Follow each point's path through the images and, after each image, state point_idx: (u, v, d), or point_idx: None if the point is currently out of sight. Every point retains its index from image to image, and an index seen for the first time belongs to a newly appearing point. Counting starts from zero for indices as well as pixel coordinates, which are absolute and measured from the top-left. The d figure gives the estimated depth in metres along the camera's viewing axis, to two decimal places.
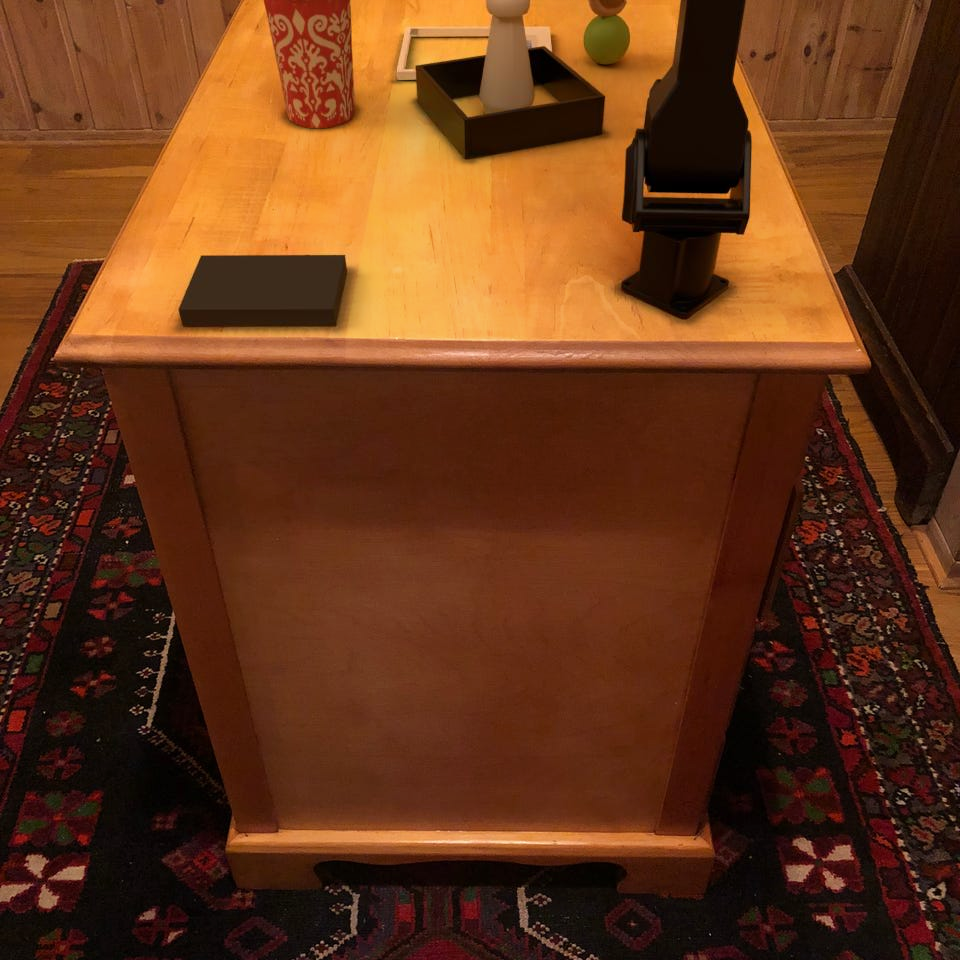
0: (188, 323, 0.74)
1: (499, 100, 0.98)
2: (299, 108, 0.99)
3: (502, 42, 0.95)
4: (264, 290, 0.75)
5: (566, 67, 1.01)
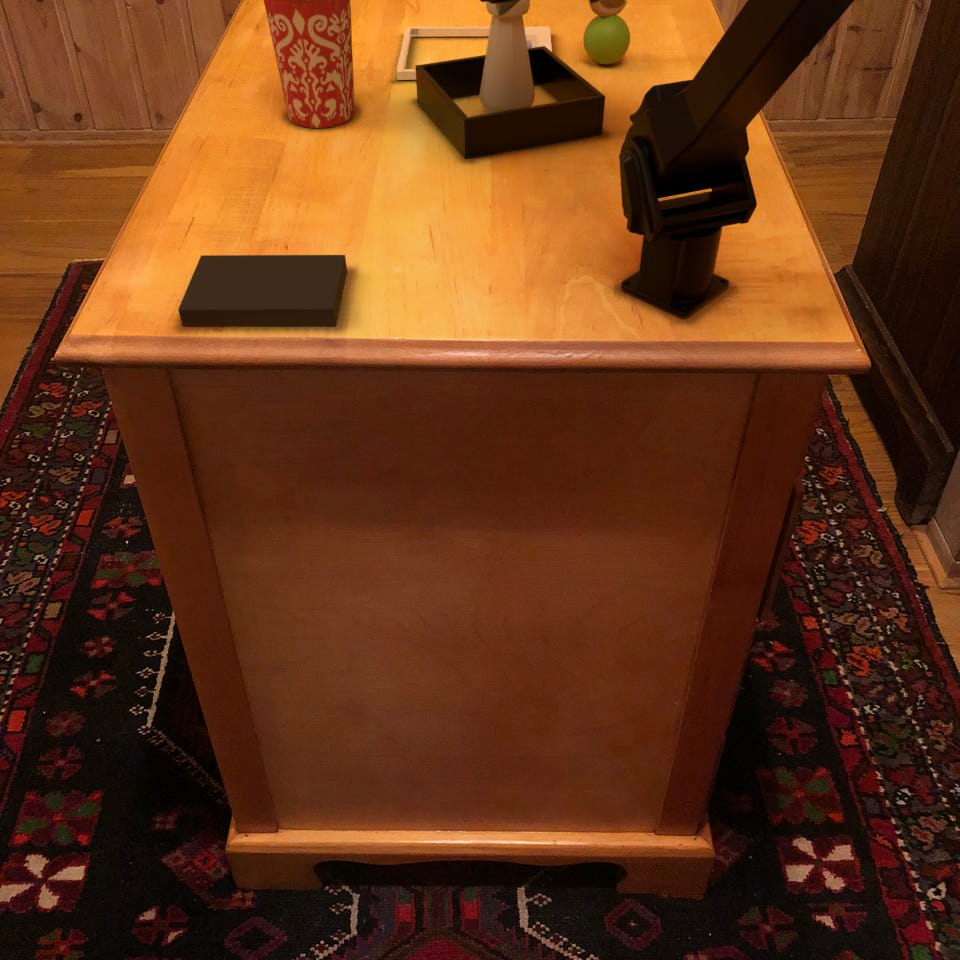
0: (188, 323, 0.74)
1: (499, 100, 0.98)
2: (299, 108, 0.99)
3: (502, 42, 0.95)
4: (264, 290, 0.75)
5: (566, 67, 1.01)
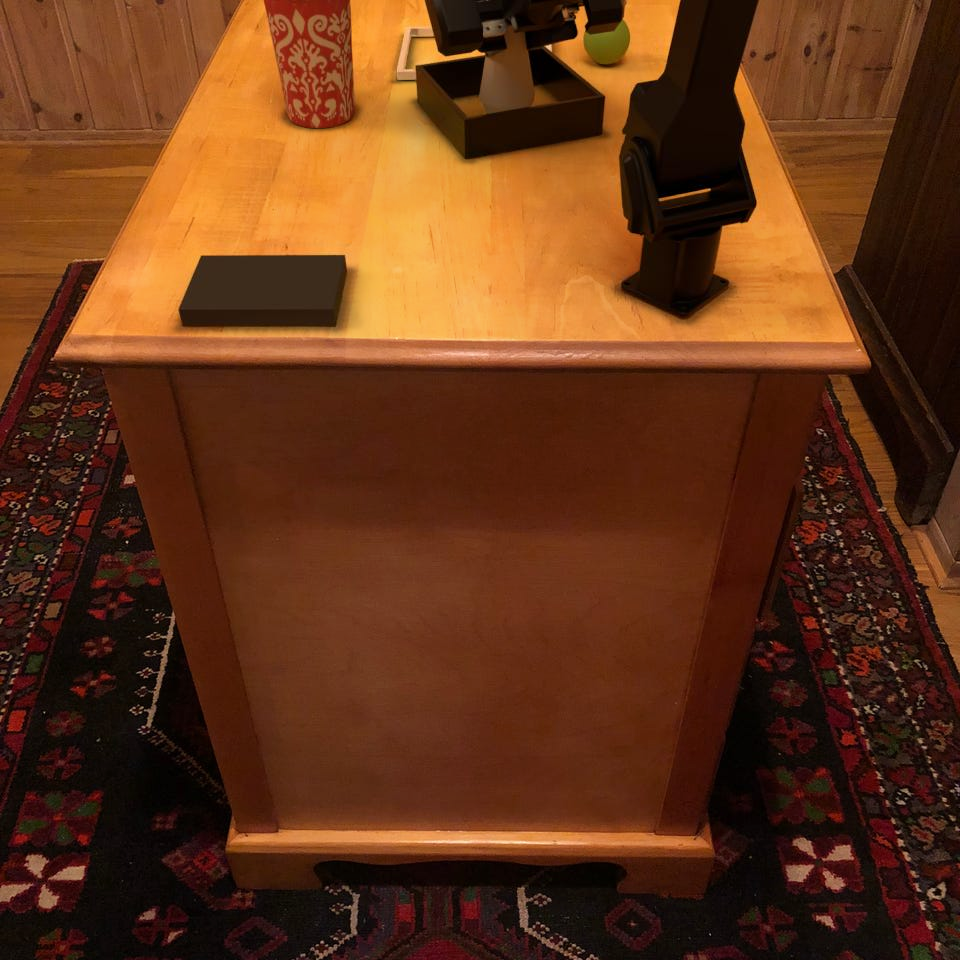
0: (188, 323, 0.74)
1: (499, 100, 0.98)
2: (299, 108, 0.99)
3: None
4: (264, 290, 0.75)
5: (566, 67, 1.01)
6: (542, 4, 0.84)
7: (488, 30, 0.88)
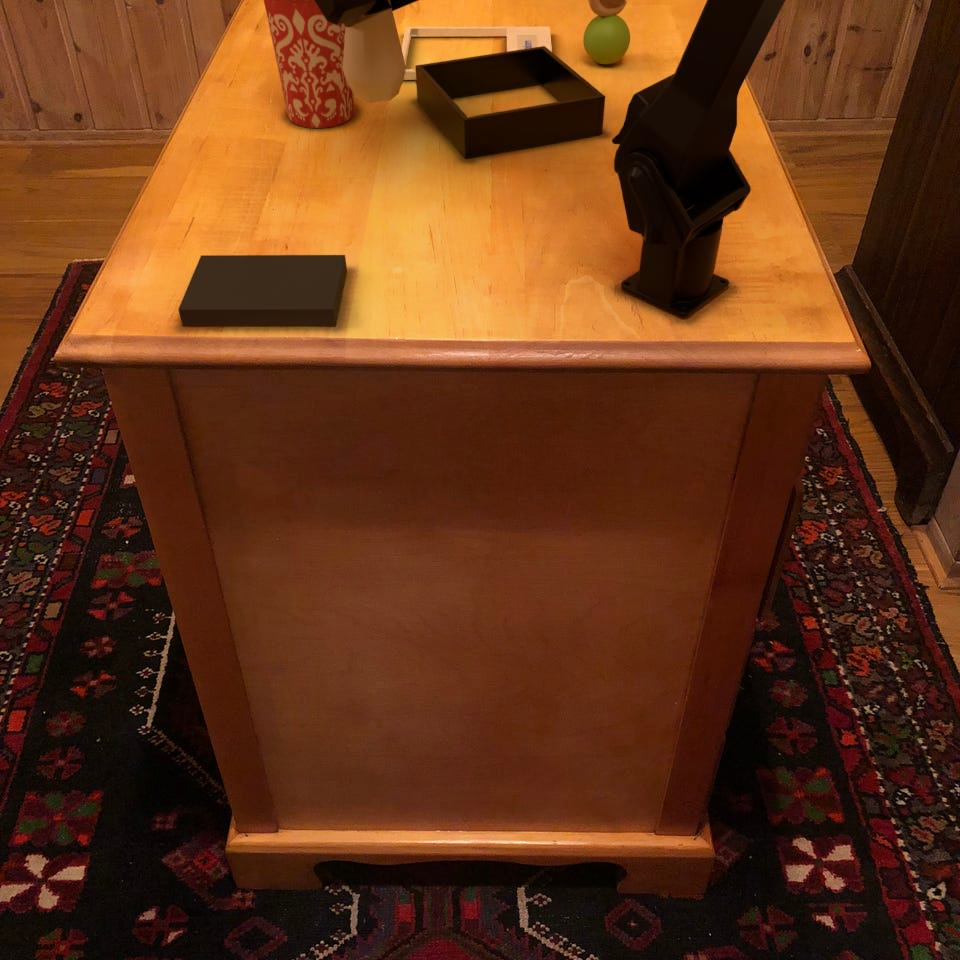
0: (188, 323, 0.74)
1: (376, 72, 0.86)
2: (299, 108, 0.99)
3: None
4: (264, 290, 0.75)
5: (566, 67, 1.01)
6: None
7: None
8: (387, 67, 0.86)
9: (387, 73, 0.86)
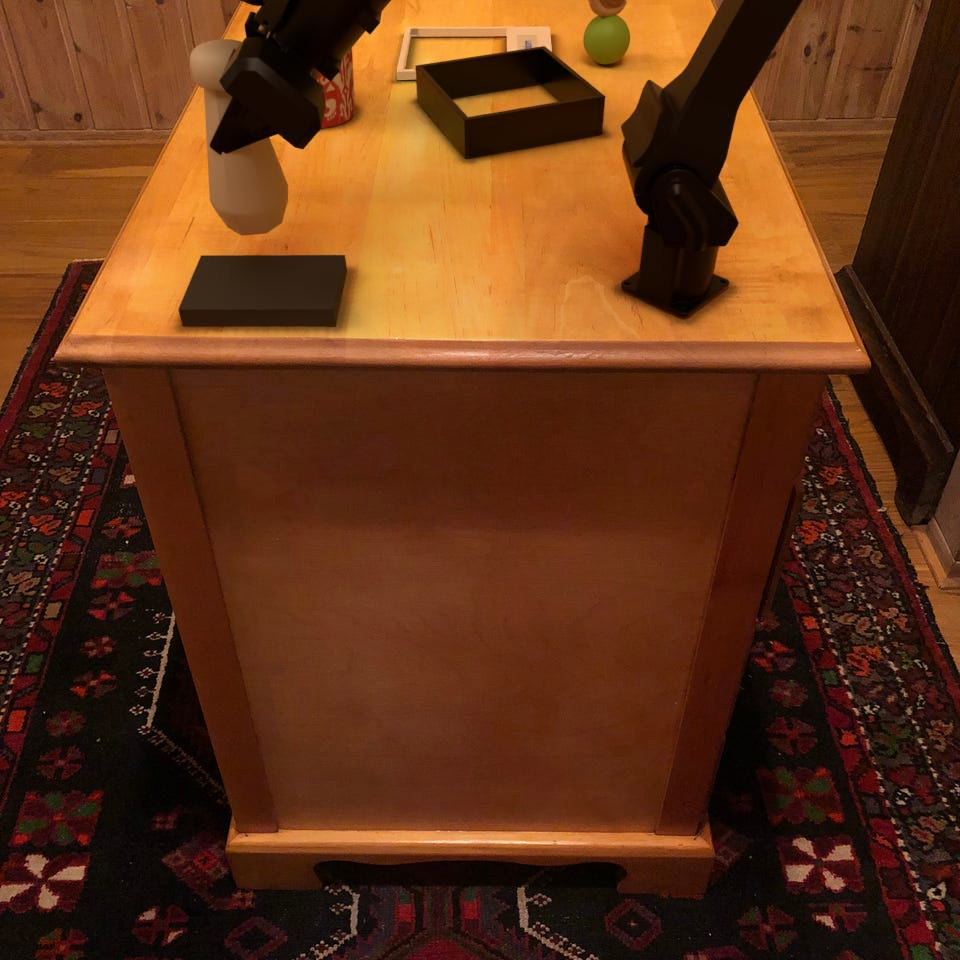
0: (188, 323, 0.74)
1: (274, 195, 0.69)
2: None
3: None
4: (264, 290, 0.75)
5: (566, 67, 1.01)
6: None
7: None
8: (281, 185, 0.69)
9: (283, 192, 0.70)
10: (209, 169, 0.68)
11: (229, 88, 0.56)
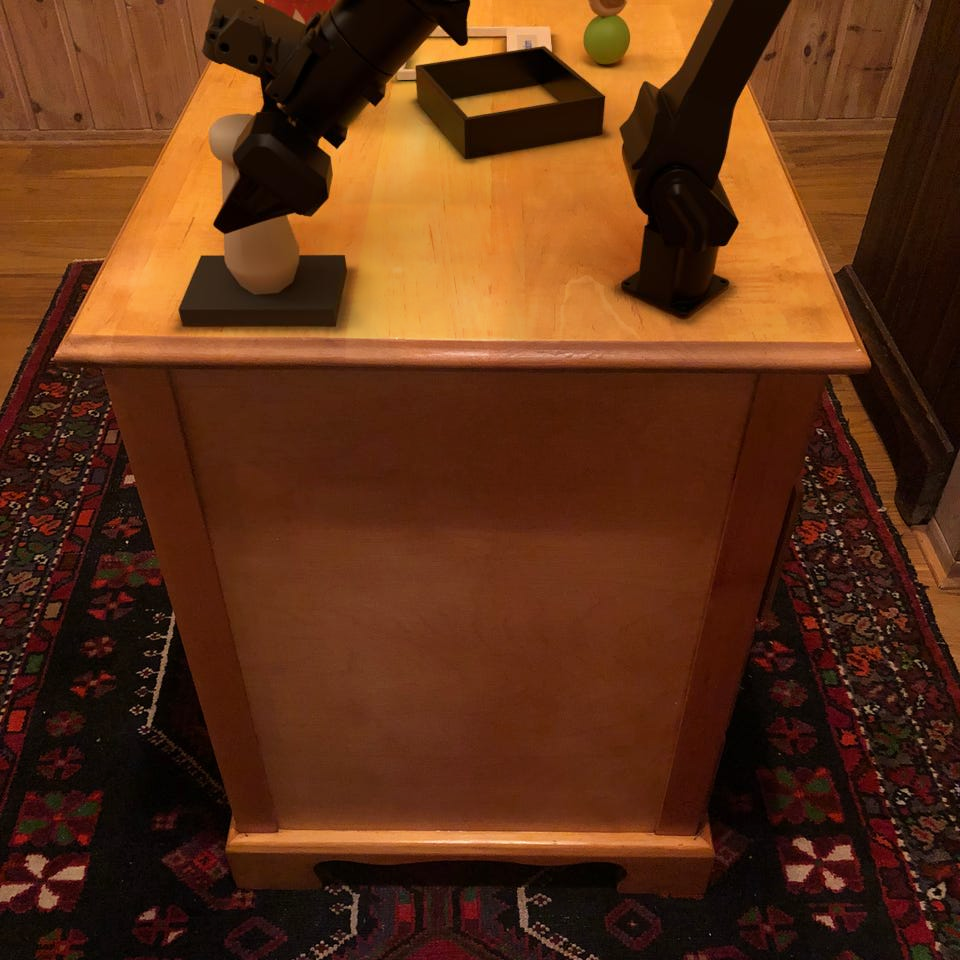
0: (188, 323, 0.74)
1: (286, 258, 0.72)
2: None
3: None
4: None
5: (566, 67, 1.01)
6: None
7: None
8: (293, 248, 0.73)
9: (295, 254, 0.73)
10: None
11: (242, 162, 0.59)
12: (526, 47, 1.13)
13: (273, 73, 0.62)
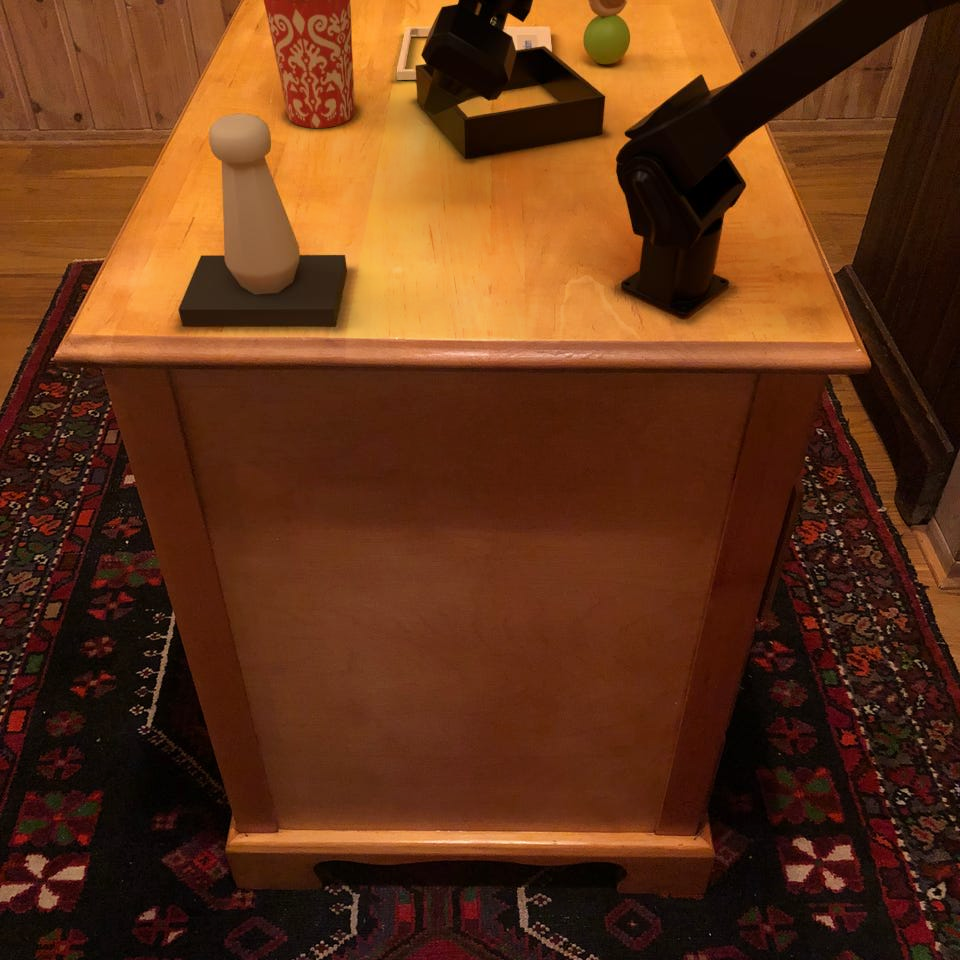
0: (188, 323, 0.74)
1: (286, 258, 0.72)
2: (299, 108, 0.99)
3: (264, 189, 0.69)
4: None
5: (566, 67, 1.01)
6: None
7: None
8: (293, 248, 0.73)
9: (295, 254, 0.73)
10: (225, 233, 0.72)
11: (429, 61, 0.66)
12: (526, 47, 1.13)
13: None
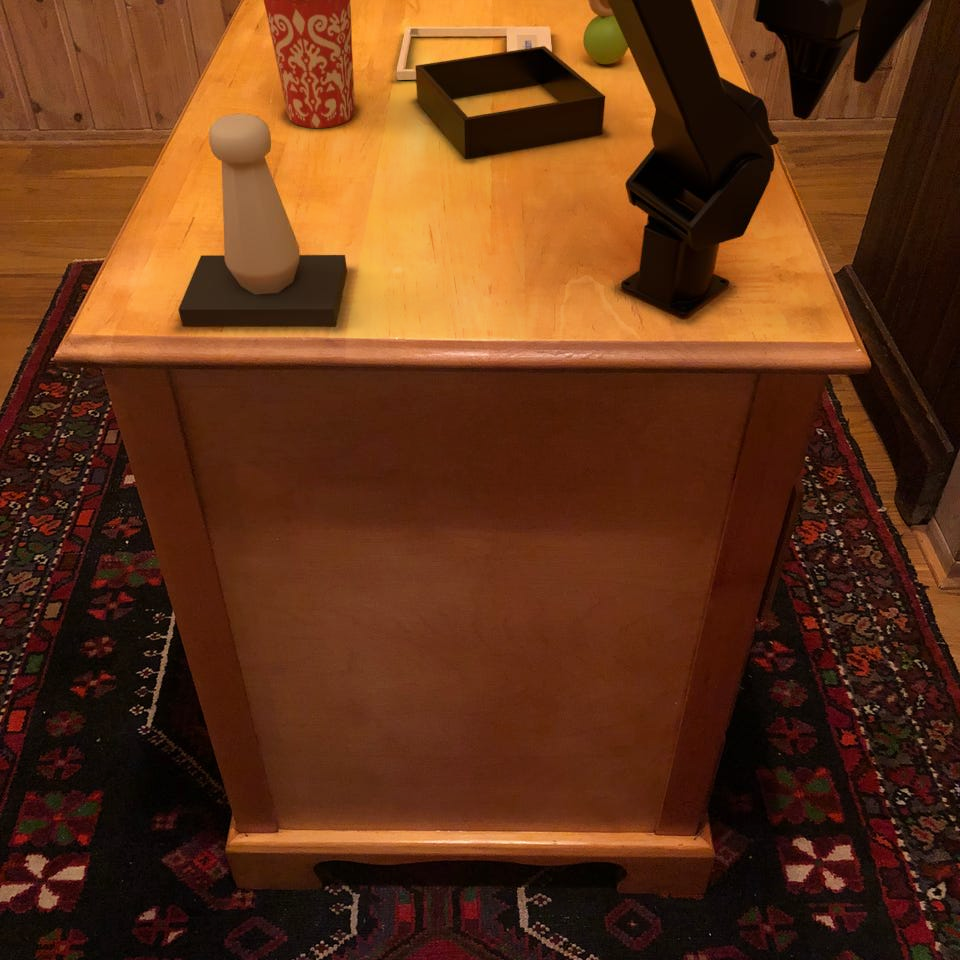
0: (188, 323, 0.74)
1: (286, 258, 0.72)
2: (299, 108, 0.99)
3: (264, 189, 0.69)
4: None
5: (566, 67, 1.01)
6: None
7: None
8: (293, 248, 0.73)
9: (295, 254, 0.73)
10: (225, 233, 0.72)
11: (757, 16, 0.64)
12: (526, 47, 1.13)
13: None
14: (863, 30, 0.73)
